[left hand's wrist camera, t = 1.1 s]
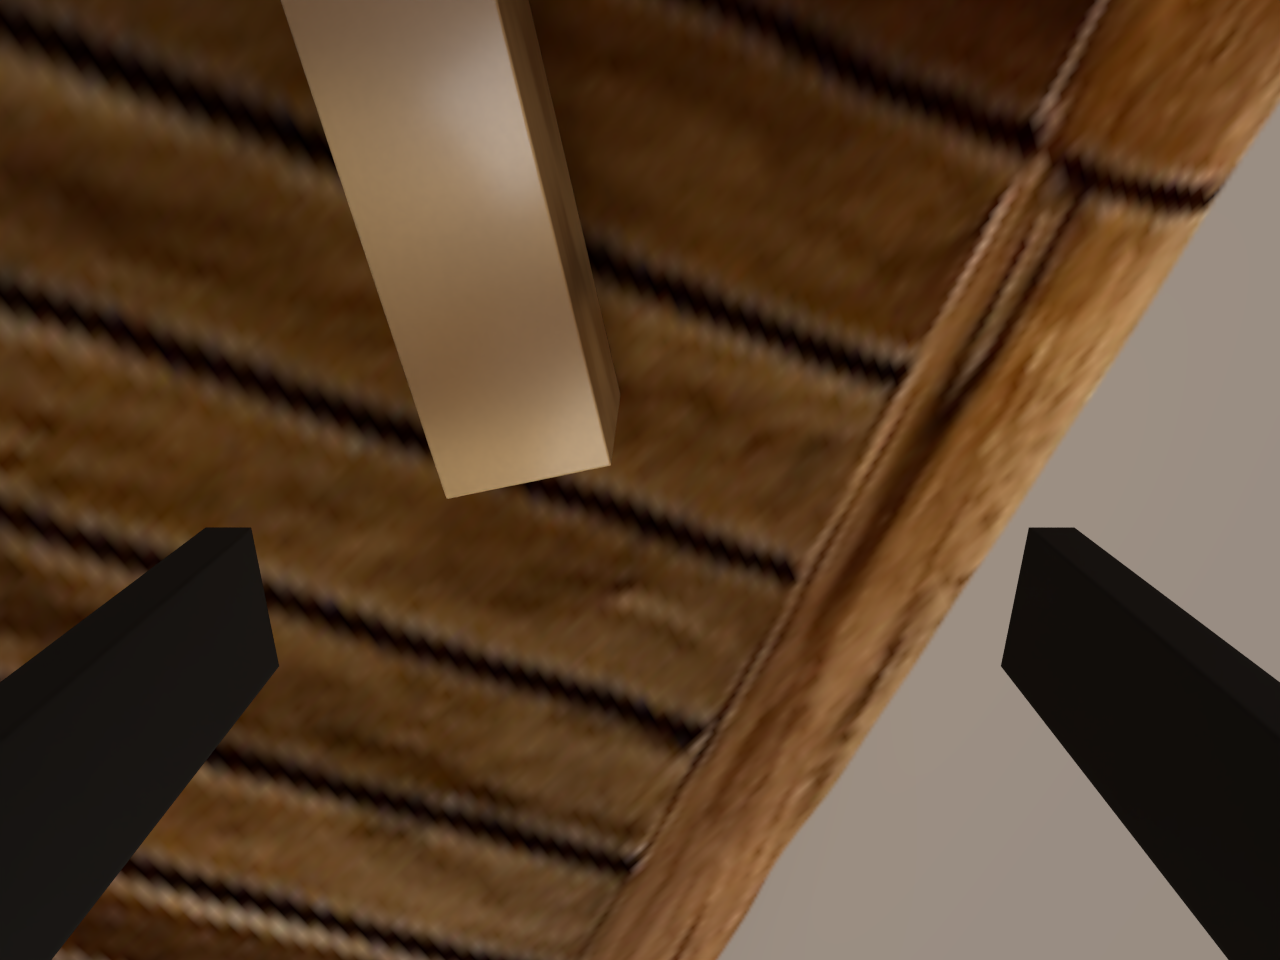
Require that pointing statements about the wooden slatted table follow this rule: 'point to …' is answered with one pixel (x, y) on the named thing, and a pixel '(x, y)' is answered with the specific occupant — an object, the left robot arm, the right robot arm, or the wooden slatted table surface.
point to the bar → (467, 229)
